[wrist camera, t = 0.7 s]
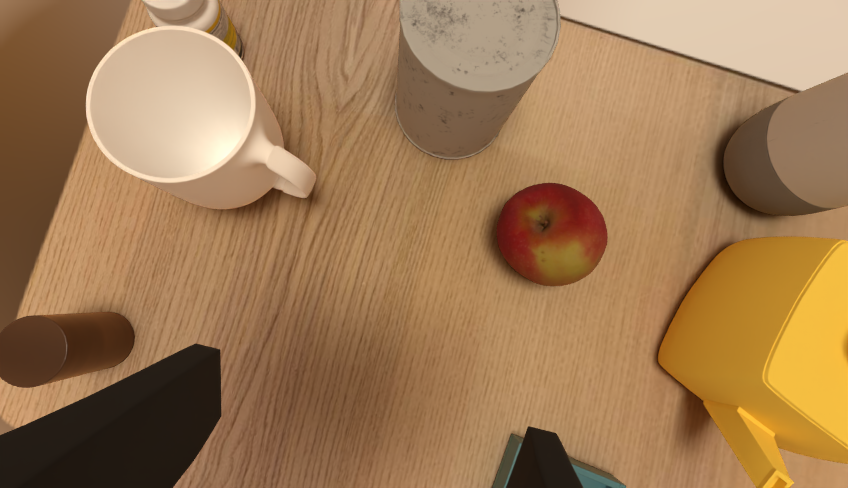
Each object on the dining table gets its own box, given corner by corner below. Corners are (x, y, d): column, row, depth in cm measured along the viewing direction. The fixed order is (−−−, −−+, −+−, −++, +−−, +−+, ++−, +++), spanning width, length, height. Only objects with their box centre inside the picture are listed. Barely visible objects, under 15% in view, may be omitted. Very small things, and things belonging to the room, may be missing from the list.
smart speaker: (692, 140, 39) (862, 54, 25) (776, 106, 40) (981, 6, 26) (739, 237, 38) (940, 203, 24) (823, 199, 39) (1060, 146, 26)
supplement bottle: (173, 52, 36) (109, -22, 28) (215, 14, 37) (165, -69, 28) (216, 90, 36) (164, 28, 27) (257, 52, 36) (219, -20, 28)
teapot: (733, 492, 35) (904, 588, 24) (612, 401, 35) (723, 451, 24) (844, 294, 38) (1043, 293, 27) (732, 211, 38) (882, 173, 27)
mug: (165, 193, 34) (50, 139, 22) (218, 98, 36) (134, -1, 24) (301, 254, 35) (258, 231, 23) (348, 157, 36) (330, 89, 24)
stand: (129, 371, 33) (59, 390, 26) (70, 366, 32) (-17, 385, 25) (139, 314, 33) (74, 318, 26) (81, 309, 33) (0, 312, 26)
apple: (536, 178, 37) (577, 146, 29) (595, 253, 37) (653, 241, 29) (468, 230, 36) (491, 211, 28) (527, 308, 36) (568, 311, 28)
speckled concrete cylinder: (432, 34, 38) (454, -90, 26) (524, 92, 38) (589, -4, 26) (373, 120, 37) (367, 32, 24) (469, 181, 37) (510, 122, 25)
